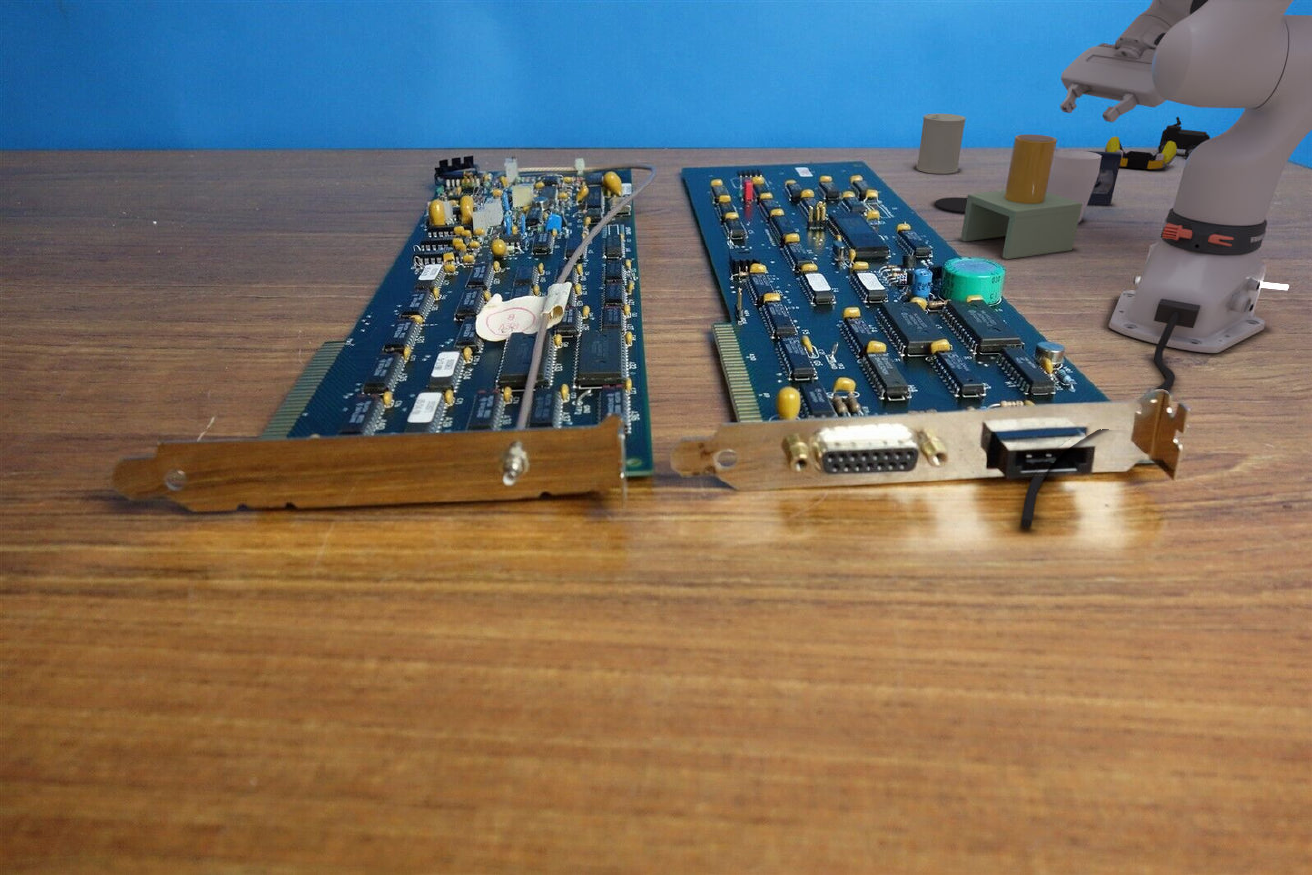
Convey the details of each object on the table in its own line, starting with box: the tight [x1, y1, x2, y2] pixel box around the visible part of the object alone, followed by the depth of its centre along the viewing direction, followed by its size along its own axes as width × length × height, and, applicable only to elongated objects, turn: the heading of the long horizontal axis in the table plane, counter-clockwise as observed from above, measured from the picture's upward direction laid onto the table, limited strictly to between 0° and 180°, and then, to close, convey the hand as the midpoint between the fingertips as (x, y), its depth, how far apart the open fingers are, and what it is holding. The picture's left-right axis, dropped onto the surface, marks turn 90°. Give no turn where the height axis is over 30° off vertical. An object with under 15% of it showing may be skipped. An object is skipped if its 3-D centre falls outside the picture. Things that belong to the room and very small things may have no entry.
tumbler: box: [1004, 134, 1058, 204], centre depth 156 cm, size 6×6×10 cm
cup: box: [1046, 149, 1101, 223], centre depth 174 cm, size 9×9×12 cm
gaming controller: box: [1104, 136, 1178, 170], centre depth 216 cm, size 15×6×10 cm
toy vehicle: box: [1157, 116, 1211, 159], centre depth 225 cm, size 8×15×9 cm, turn 54°
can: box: [916, 113, 967, 175], centre depth 211 cm, size 9×9×12 cm
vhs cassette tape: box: [1087, 150, 1122, 206], centre depth 186 cm, size 18×3×10 cm, turn 76°
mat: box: [934, 196, 968, 215], centre depth 184 cm, size 11×11×1 cm
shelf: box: [960, 189, 1082, 260], centre depth 160 cm, size 14×12×8 cm
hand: (1085, 114), depth 155 cm, fingers open, 8 cm apart
